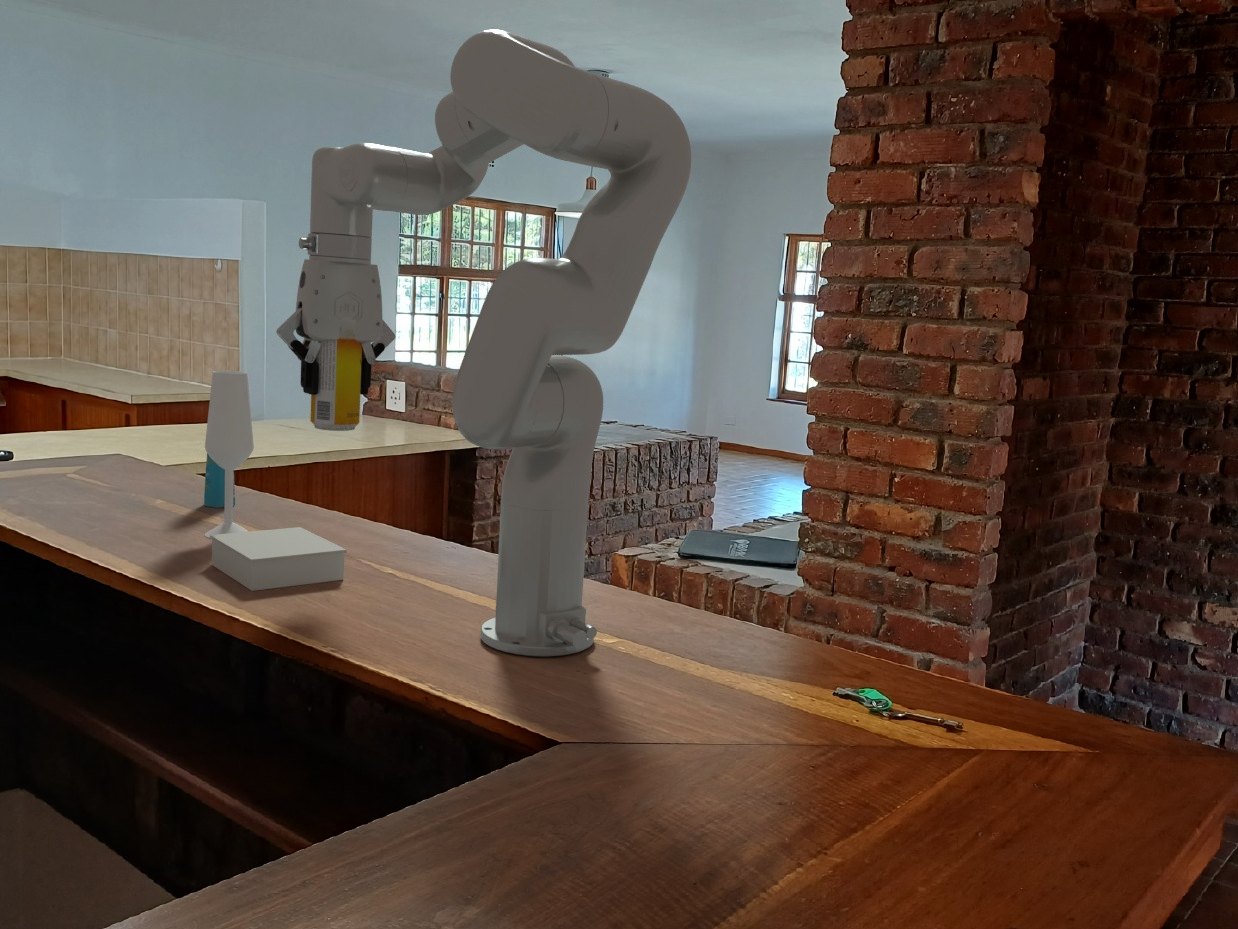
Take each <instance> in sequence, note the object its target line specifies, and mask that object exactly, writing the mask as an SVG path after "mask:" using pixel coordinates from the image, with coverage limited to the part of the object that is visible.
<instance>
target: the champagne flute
mask: <svg viewBox="0 0 1238 929" xmlns="http://www.w3.org/2000/svg"><path fill="white" fill-rule="evenodd" d="M211 376H212V377H211V385H210V395H209V403H208V413H207V414H208V415H207V424H206V434H205V442H204V449H205V452H206V454H207V453H208V455H209V456H210V458H211V459H212V460H213V461H214V462H215V463H216V464H218V465H219V466H220V467H221V468H223V469H225V507H224V521H223V522H222V523H220V524H218V525H217V526H215V527H214V528H212V529H210V530H209V531H207V532H205V533H204V537H206V538H209V539H211V538H210V535H216V534H228V533H239V532H250V530H247V528H244V527H242V526H241V525H239V524H237V523H236V522H234V505H233V470H235V469H237V468H239V467H240V466H242V465H243V463H244V462H246V460H248V459H249V457H250V456H251V454H253V451H254V447H255V446H254V437H253V436H254V435H253V424H252V411H251V400H250V389H249V376H248V372H247V371H241V370H240V371H239V370H213V371H212V375H211Z"/></svg>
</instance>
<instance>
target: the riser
mask: <svg viewBox="0 0 1238 929" xmlns="http://www.w3.org/2000/svg"><path fill="white" fill-rule="evenodd" d="M209 539H211V566H213V567H215V568H216V569H218V570H219V571H221V572H222V573H224V574H225V575H227V576H229V577H230V578H231V579H233V580H235V581H236V582H238V584H241V585H242V586H244V587H245V588H247V589H248V590H250V591H252V592H254V591H263V590H271V589H279V588H286V587H287V588H288V587H295V586H302V585H312V584H319V583H320V584H321V583H326V582H328V583H329V582H334V581H342V580H343V581H344V580H345V579H344V577H345V576H344V574H345V573H344V572H345V570H344V569H345V554H346V553H347V549H346V548H343V547H341V546H340V545H337V544H336V543H333V542H332V541H330V540H327V539H325V538H324V537H321V536H319V534H318V535H317V534H316V533H313V532H312V531H310V530H307V529H305V528H303V527H301V526H298V527H297V526H296V527H288V528H287V527H285V528H276V529H264V530H263V529H262V530H252V531H250V530H249V532H239V533H228V534H216V535H210V538H209Z"/></svg>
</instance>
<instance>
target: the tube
mask: <svg viewBox="0 0 1238 929" xmlns="http://www.w3.org/2000/svg"><path fill="white" fill-rule="evenodd" d="M234 470H235V469H234ZM234 470H233V506H234V505H236V491H235V490H236V488H235V474H234V473H235V471H234ZM203 499H204V500H203V504H204V506H206V507H209V508H215V509H216V508H219V509H220V508H225V469H223V468H221V467H220V466H219V465H218V464H216V463H215V462H214V461H213V460H212V459H211V458H210V456H209V455H208V453H207V452H206V463H205V478H204V496H203Z"/></svg>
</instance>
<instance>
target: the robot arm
mask: <svg viewBox="0 0 1238 929" xmlns="http://www.w3.org/2000/svg"><path fill="white" fill-rule="evenodd" d="M449 74H450V75H449V77H450V78H449V79H450V85H451V89H452V91H451V92H449V93H448V94H446V95H444V97H442V98H441V100H439V103H438V104H437V106H436V109H435V114H434V125H435V130H436V134H437V137H438V139H439V142H440V144H441V146H438V147H437V148H435V149H433V150H431V151H428V152H420V151H415V150H414V151H413V150H410V149H405V148H404V149H403V148H399V147H395V146H386V145H383V144H382V145H381V144H377V143H371V142H370V143H369V142H358V143H354V144H350V145H347V146H344V147H338V146H324V147H320V148H318V149H316V150H315V151H314V153H313V155H312V160H311V181H310V182H311V185H310V187H311V188H310V213H309V214H310V216H309V217H310V219H309V220H310V223H309V225H310V226H309V233H307V234H308V235H307V236H306V237H300V238H299V240H298V247H299V249H302V250H305V251H307V255H309V258H307V259H306V258H305V259H303V263H302V268H301V271H300V276H299V281H298V286H297V287H298V288H297V294H296V295H297V296H296V304H295V311H294V312H293V313H292V314H291V315H290V316H289V317H288V318H287V319H286V320H285V321H284V322H283V323H282V324H281V325H280V326H279V327H277V329H276V335H277V336H278V337H279V338H280V339H281V340H282V341H283V342H284V344H286V345H287V347H288V349H290V351H291V352H293V354H294V355H295V356H296V357H297V359H298V361H300V387H301V388H302V392H303V393H304V394H308V395H310V396H311V395H316V394H318V382H319V364H318V363H315V359H316V356H317V353H318V351H319V349H320V346H321V344H322V341H328V342H332V341H335V340H338V339H339V331H340V321H339V319H340V320H342V319H343V318H342V317H345V316H350V317H352V318H353V320H354V321H355V320H356V340H357V341H358V342H359V343H362V363H361V391H360V395H362V396H368V394H369V388H371V386H372V384H371V383H372V380H371V379H372V365H373V364H375V363H376V359H378V357H379V356H381V354H382V353H383V352H384V351H385V350H386V348H387V347H389V345H391V343H392V342H393V341H394V340H395V339H396V333H395V332H394V330H392V329H391V328H390V327H389V325H388V324H387V323H386V322H385V321H384V319H383V300H382V287H381V280H380V274H379V273H380V271H379V268H378V264H372V244H373V243H372V242H373V239H372V236H373V213H374V210H375V211H381V212H382V211H383V212H384V211H385V212H395V213H400V214H406V215H407V214H408V215H416V216H424V215H425V216H427V215H432V214H435V213H439V212H441V211H444V210H446V209H448V208H451V206H454V205H456V204H458V203H459V202H461V201H463V200H465V199H466V198H468V197H470V196H471V195H472V194H475V192H476V191H477V190H478V188H479V187H480V185H481V184H482V182H483V181H484V178H485V176H486V174H487V173H488V168H489V165H490V163H492V162H494V161H496V160H498V159H499V158H502V157H503V156H505V155H507V154H508V153H511V152H513V151H514V150H516V149H518V148H519V147H520V148H521V146H523V145H525V146H527V147H529V148H530V149H533V150H535V151H536V152H539V153H541V154H543V155H545V156H548V157H551V158H553V159H556V160H560V161H564V162H570V163H574V164H579V165H584V166H588V167H591V168H599V169H604V170H607V171H608V172H609V174H610V178H609V180H608V181H607V182H606V183H605V184H604V185H603V186H602V187H601V188H600V189H599V190H598V191H597V192H596V193H595V194H594V196H592V198H591V199H590V201H589V202H588V203H586V206H585V207H584V209H583V211H582V212H581V215H580V216H579V219H578V221H577V224H576V227H575V230H574V232H573V235H572V237H571V239H570V241H569V244H568V245H567V248H566V250H565V251H564V253H563V255H562V256H561V257H560V258H555V259H554V258H547V257H530V258H525V259H520V260H518V261H516V262H514V263H512V264H511V265H509V266H507V267H506V268H505V269H504V270H503V271H502V272H501V273H500V274H499V275H498V276H497V277H496V279H495V280H494V281H493V283H492V284H491V286H490V287H489V290H488V291H487V294H486V296H485V298H484V302H483V303H482V306H481V309H480V312H479V315H478V317H477V320H476V322H475V325H474V328H473V331H472V333H471V336H470V338H469V341H468V344H467V348H466V350H465V352H464V355H463V357H462V358H463V359H462V361H461V363H460V367H459V369H458V371H457V374H456V378H455V382H454V387H453V391H452V402H451V408H452V415H453V416H452V417H453V419H454V423H455V425H456V428H457V430H458V432H460V434H461V435H462V437H463V438H464V439H465V440H466V441H467V442H469V443H471V444H472V445H473V446H476V447H478V448H483V449H489V450H502V449H512V450H511V452H510V455H509V457H508V460H507V463H506V465H505V468H504V473H503V477H502V482H501V483H502V486H501V496H500V497H501V498H500V500H501V501H500V512H499V513H500V514H499V536H498V537H499V538H498V555H497V557H498V558H497V559H498V560H497V576H496V577H497V579H496V580H497V581H496V597H495V598H496V601H495V617H493V618H490V619H488V620H487V621H485V622H484V623H482V625H481V626H480V635H479V637H480V639H481V641H483V643H484V644H486V645H487V646H489V647H490V648H493V649H495V650H498V651H501V652H503V653H509V654H513V655H519V656H524V657H525V656H526V657H559V656H560V657H561V656H568V655H572V654H576V653H577V654H578V653H580V652H582V651H585V650H587V649H588V648H590V647H591V646H592V645H593V644H594V641H595V639H594V638H595V637H596V636H597V633H598V630H597V628H596V627H595V626H593V625H591V624H589V623H586V616H587V613H586V612H587V607H585V606H583V593H584V577H585V564H586V563H585V562H586V561H585V560H586V545H587V529H588V528H587V526H588V515H589V514H588V513H589V512H588V511H589V510H588V509H589V500H590V499H589V498H590V487H591V486H590V484H591V473H592V472H591V471H592V466H593V465H592V463H593V457H594V452H595V451H594V450H595V448H596V443H597V439H598V434H599V432H600V427H601V424H602V418H603V411H604V393H603V388H602V385H601V382H600V380H599V378H598V377H597V375H596V373H595V372H594V371H593V369H591V367H590V366H588V365H587V364H585V363H584V362H582V361H580V359H579V360H578V359H577V358H574V357H570V356H573V355H574V356H575V355H576V356H579V355H582V356H583V355H595V354H599V353H602V352H606V351H608V350H609V349H611V348H612V347H614V345H615V344H616V343H617V342H618V340H619V338H620V337H621V335H622V334H623V332H624V330H625V328H626V325H627V323H628V320H629V318H630V316H631V313H632V312H633V309H634V306H635V304H636V302H637V300H638V297H639V294H640V292H641V290H642V287H643V285H644V283H645V281H646V278H647V275H648V274H649V271H650V269H651V267H652V263H653V261H654V259H655V255H656V253H657V250H658V249H659V246H660V244H661V241H662V240H663V238H664V236H665V234H666V232H667V229H668V228H669V225H670V223H671V222H672V220H673V218H674V216H675V215H676V212H677V211H678V209H679V206H680V204H681V202H682V200H683V197H684V195H685V192H686V190H687V187H688V184H689V179H690V177H691V169H692V146H691V141H690V138H689V135H688V131H687V129H686V126H685V125H684V123H683V121H682V118H681V117H680V116H679V115H678V113H677V112H676V110H674V108H673V107H672V106H671V105H670V104H669V103H668V102H667V101H665V100H664V99H662V98H661V97H659V96H657V95H656V94H654V93H652V92H650V91H648V90H647V89H643V88H642V87H640V86H636V85H632V84H631V83H628V82H624V81H621V80H617V79H614V78H610V77H607V76H603V75H602V74H598V73H595V72H591V71H588V70H586V69H585V70H584V69H581V68H579V67H576V66H575V64H574V63H573V62H572V60H570V58H569V57H568V56H567V55H565V54H564V53H563V52H561V51H559V50H558V49H556V48H554V47H552V46H550V45H547V44H544V43H541V42H538V41H536V40H533V39H530V38H526V37H524V36H521V35H519V34H515V33H512V32H509V31H506V30H501V29H486V30H482V31H479V32H477V33H475V34H473V35H472V36H470V37H468V39H467V40H465V41H464V42H463V43H462V44H461V46H460V47H459V48H458V49H457V51H456V53H455V55H454V58H453V60H452V64H451V68H450V73H449ZM295 332H296V334H297V335H298V336H300V337H301V338H303V340H302V342H301V340H299V339H298V338H297V337H296V336H295V334H294V333H295Z"/></svg>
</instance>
